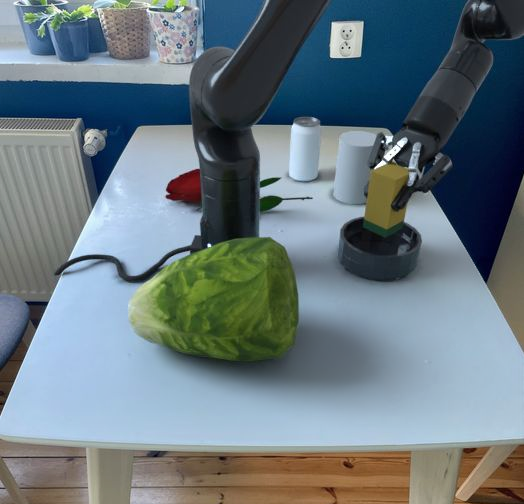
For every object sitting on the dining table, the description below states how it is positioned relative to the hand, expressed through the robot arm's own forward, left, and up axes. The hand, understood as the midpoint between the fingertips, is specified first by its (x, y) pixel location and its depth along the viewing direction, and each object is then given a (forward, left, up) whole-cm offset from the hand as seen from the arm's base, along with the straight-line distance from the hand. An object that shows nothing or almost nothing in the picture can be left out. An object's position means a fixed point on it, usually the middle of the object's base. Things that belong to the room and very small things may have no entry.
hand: (380, 203), depth 87 cm
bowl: (+1, +1, -12) cm, 12 cm away
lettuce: (-23, -25, -12) cm, 36 cm away
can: (-14, +34, -12) cm, 39 cm away
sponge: (+1, +1, -5) cm, 6 cm away
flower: (-26, +16, -12) cm, 33 cm away
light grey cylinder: (-3, +26, -12) cm, 29 cm away
